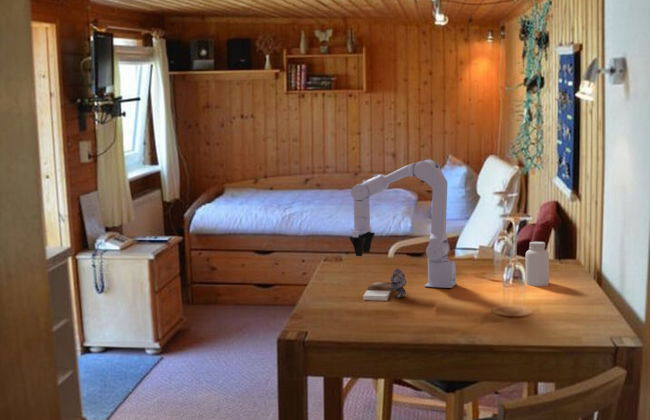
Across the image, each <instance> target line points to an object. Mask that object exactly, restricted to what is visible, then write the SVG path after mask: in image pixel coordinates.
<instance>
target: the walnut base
mask: <svg viewBox="0 0 650 420" xmlns="http://www.w3.org/2000/svg"><path fill="white" fill-rule="evenodd" d="M391 283H392V282H391V281H390V282H387V281H375V282H373V283H372V284H370V285H368V286H367V290H370V291H390V294H391V293H394V292H395V291H397V290H396V289H393V288H392V287H391Z"/></svg>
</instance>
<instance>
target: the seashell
mask: <svg viewBox="0 0 650 420" xmlns="http://www.w3.org/2000/svg"><path fill="white" fill-rule="evenodd" d="M390 282H392V283H391V287H392V288H393V289H396V290H395V291H396V292H397V294H396V298H399V299H400V298H402V297H406V295H407V291H406V289H405V288H404V287H405V286H406V285H407V283H408V282H407V279H406V275H405V274H404V272H403V271H402V270H401V269H399V268H398V267H397V268H396V269H394V270H393V272H392V276H391V278H390Z"/></svg>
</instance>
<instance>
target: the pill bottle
mask: <svg viewBox="0 0 650 420" xmlns="http://www.w3.org/2000/svg"><path fill="white" fill-rule="evenodd" d="M524 264H525V282H526V281H527V284H526V285H528V286H531V287H547V286H549V284H550V253H549V251H547V250H546V242H545V241H530V242H529V249H528V250H527V251H526V252H525V263H524Z"/></svg>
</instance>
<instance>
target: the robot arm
mask: <svg viewBox="0 0 650 420" xmlns="http://www.w3.org/2000/svg"><path fill="white" fill-rule="evenodd" d="M406 177H413V178H414V177H416V178H418V179H419V180H421V181H423V182H425V183H426V184H428V186H430V187H431V188H432V197H431V200H432V201H431V224H430V225H431V227H430V228H431V229H430V236H429V240H428V245H427V246H426V250H425V254H426V256H427V283H425V284H424V287H427V288H443V289H444V288H445V289H448V288H449V289H452V288H454V286H455V285H456V284H457V278H456V276H457V275H456V274H457V273H456V272H457V271H456V268H457V267H456V261H454V260H449V257H448V254H449V253H450V249H451V248H450V244H449V242H448V235H447V233H446V232H447V231H446V229H447V209H448V208H447V205H448V204H447V203H448V180H447V179H446V177H445V175H444V173H443V171H442V169H441V166H440V165H439V164H438V163H437V162H435V161H434V160H432V159H425V160H420V161H418V162H414V163H410V164H407V165H405V166H402V167H401V168H399V169H396V170H395V171H392V172H390V173H388V174H387V175H384V174H382V173H381V174H378V173H376V174H374V175H373V177H371V178H369V179H364V180H362V183H357V184H355V185H353V187H352V188H351V190H350V192H351V193H350V194H351V197H352V199H353V224H354V225H353V226H354V227H353V228H351V233H352V235H350V236H349V241H350V242H351V243H352V246H353V249H354V254H355V256H356V257H363V253H364V254H365V253H368V254H369V253H370V251H371V247H372V241H373V239H374V237H375V234H376V233H375V232H372V231H373V228H372V227H373V226H371V214H370V213H371V212H370V211H371V209H370V205H371V204H370V197H371V196H374V195H377V194H379V193H381V192H383V191H386V190H388V188H389V186H390V184H392V183H394V182H396V181H399V180H402V179H403V178H406Z"/></svg>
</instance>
